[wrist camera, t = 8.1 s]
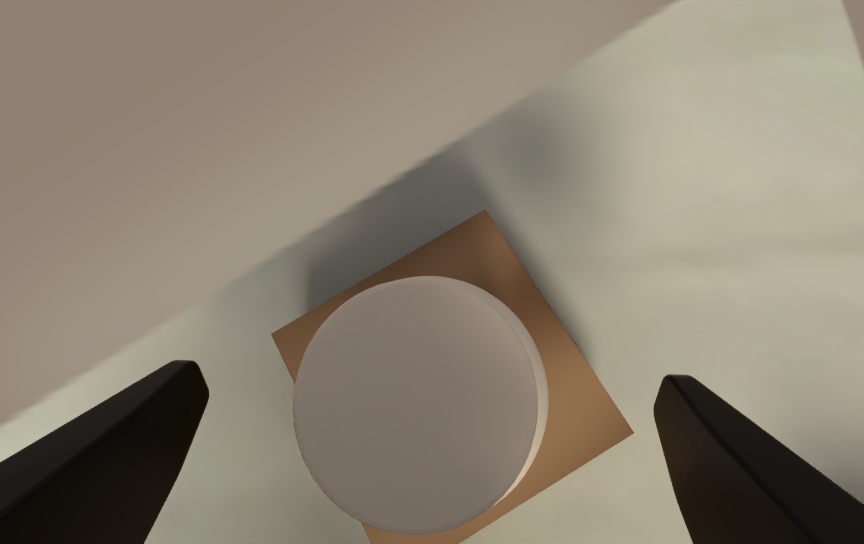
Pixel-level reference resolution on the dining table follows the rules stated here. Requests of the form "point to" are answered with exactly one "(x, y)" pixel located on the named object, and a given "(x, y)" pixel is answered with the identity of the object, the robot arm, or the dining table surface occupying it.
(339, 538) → the dining table surface
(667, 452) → the robot arm
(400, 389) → the supplement bottle
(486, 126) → the dining table surface
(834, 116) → the dining table surface
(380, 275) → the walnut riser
